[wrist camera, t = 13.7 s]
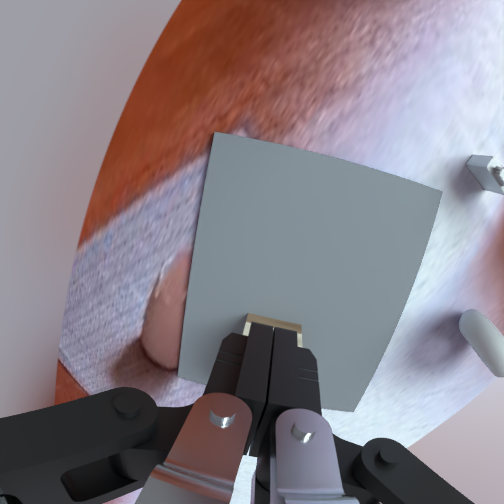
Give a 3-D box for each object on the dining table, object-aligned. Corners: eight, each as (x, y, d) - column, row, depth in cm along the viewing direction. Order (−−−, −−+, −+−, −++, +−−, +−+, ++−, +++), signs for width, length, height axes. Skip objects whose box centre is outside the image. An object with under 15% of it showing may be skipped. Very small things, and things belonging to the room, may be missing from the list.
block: (230, 387, 31) (238, 355, 37) (286, 399, 31) (287, 366, 36) (240, 342, 29) (248, 312, 35) (303, 356, 29) (301, 324, 35)
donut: (491, 333, 33) (527, 375, 24) (474, 351, 34) (507, 395, 25) (462, 290, 32) (504, 331, 22) (443, 310, 33) (480, 356, 23)
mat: (215, 132, 30) (214, 131, 29) (440, 191, 29) (442, 191, 29) (178, 374, 39) (177, 376, 39) (353, 409, 38) (353, 412, 38)
